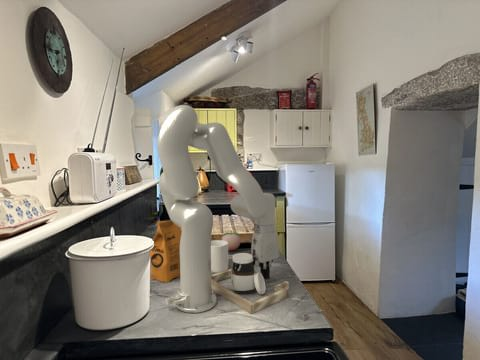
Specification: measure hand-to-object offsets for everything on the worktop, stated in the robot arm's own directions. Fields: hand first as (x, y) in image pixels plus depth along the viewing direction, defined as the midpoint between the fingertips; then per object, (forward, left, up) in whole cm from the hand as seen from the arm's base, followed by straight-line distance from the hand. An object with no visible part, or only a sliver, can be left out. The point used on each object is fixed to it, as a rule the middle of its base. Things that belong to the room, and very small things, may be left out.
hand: (265, 277), depth 104 cm
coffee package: (-25, +28, -2) cm, 37 cm away
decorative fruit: (+11, +35, -2) cm, 37 cm away
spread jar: (-9, -1, -2) cm, 9 cm away
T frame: (-8, 0, -2) cm, 8 cm away
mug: (-5, +22, -2) cm, 23 cm away
